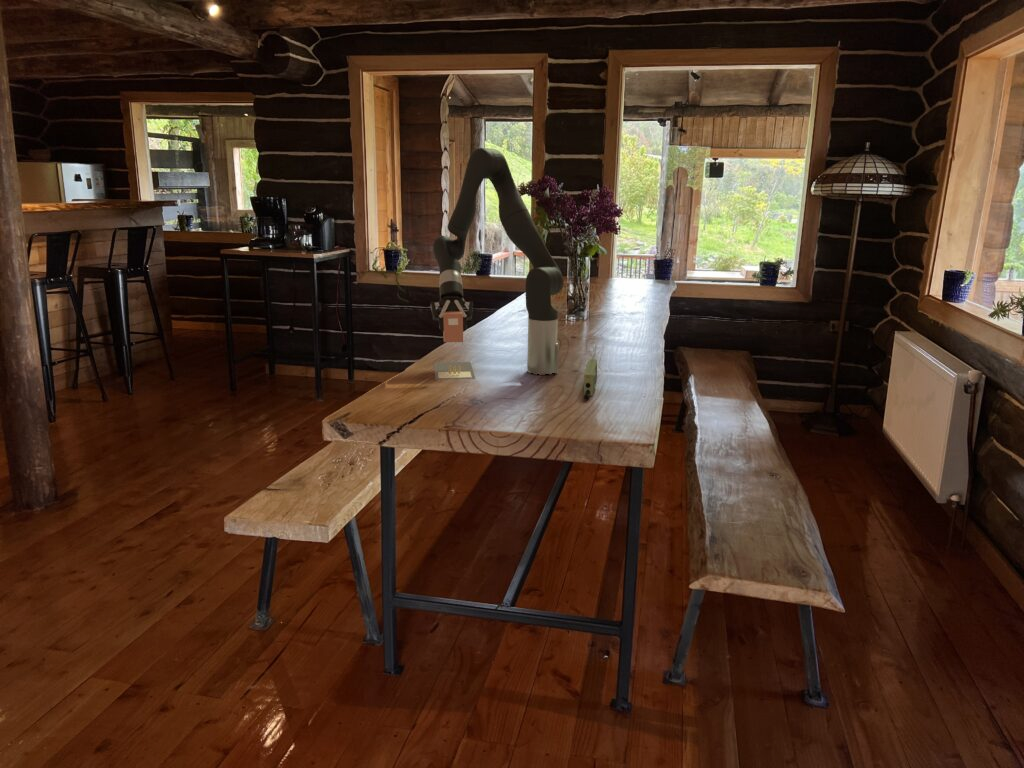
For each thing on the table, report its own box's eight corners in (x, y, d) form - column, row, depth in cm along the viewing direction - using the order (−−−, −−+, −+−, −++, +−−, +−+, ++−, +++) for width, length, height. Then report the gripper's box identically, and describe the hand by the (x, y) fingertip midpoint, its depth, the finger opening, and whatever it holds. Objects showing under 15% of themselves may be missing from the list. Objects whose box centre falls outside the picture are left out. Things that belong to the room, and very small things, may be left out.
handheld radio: (598, 380, 225) (592, 402, 201) (587, 379, 225) (580, 401, 201) (598, 358, 223) (592, 378, 199) (587, 358, 223) (580, 378, 200)
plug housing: (462, 339, 234) (461, 311, 231) (463, 342, 229) (462, 313, 227) (443, 339, 233) (442, 311, 231) (444, 342, 228) (443, 313, 226)
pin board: (470, 364, 240) (470, 353, 239) (475, 381, 219) (475, 369, 218) (433, 365, 239) (433, 353, 238) (435, 382, 217) (435, 370, 216)
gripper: (428, 280, 233) (430, 323, 224) (473, 279, 234) (476, 322, 226) (428, 294, 239) (430, 336, 231) (472, 293, 241) (475, 336, 232)
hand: (453, 329), depth 228 cm, fingers closed on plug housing, 6 cm apart
